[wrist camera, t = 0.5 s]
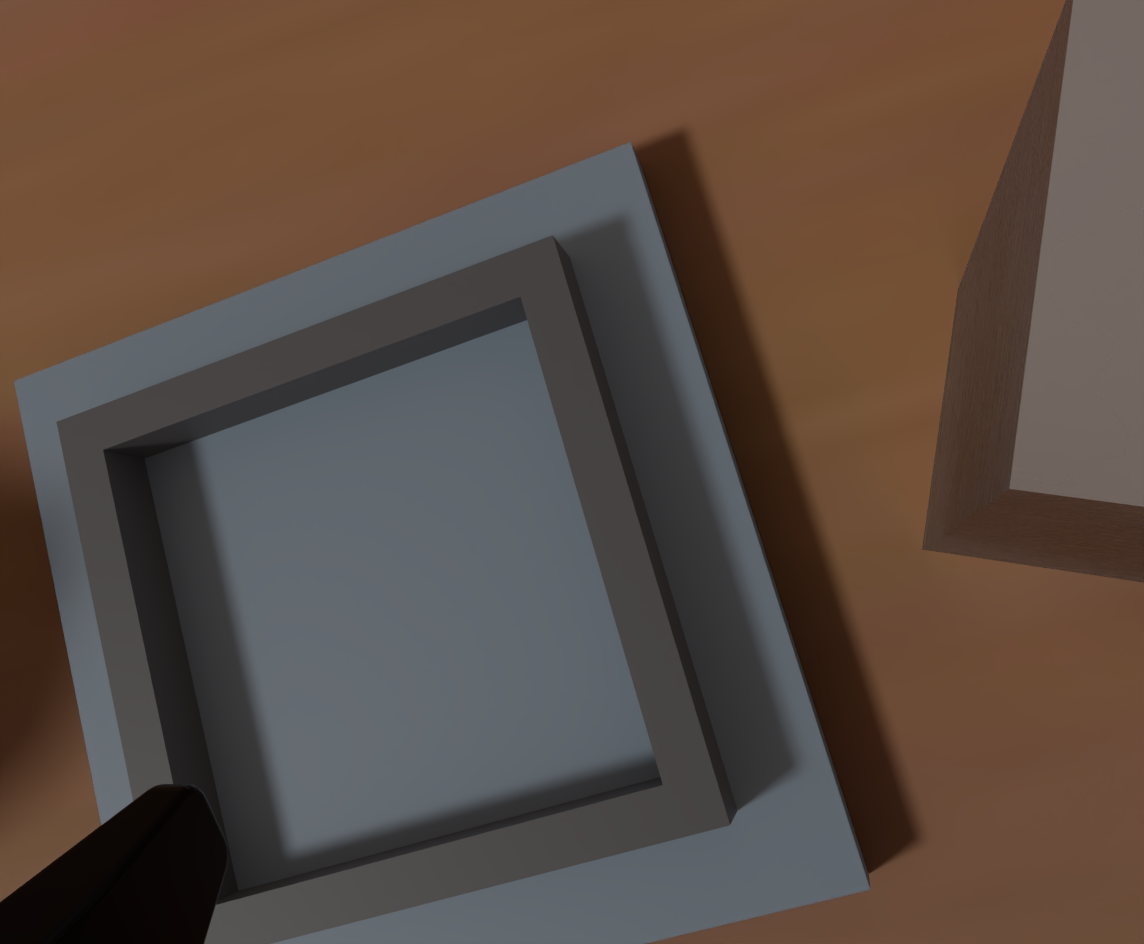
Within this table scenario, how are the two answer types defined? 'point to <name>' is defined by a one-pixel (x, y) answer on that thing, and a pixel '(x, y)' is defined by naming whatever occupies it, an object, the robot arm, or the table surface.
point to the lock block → (1055, 324)
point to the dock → (442, 591)
